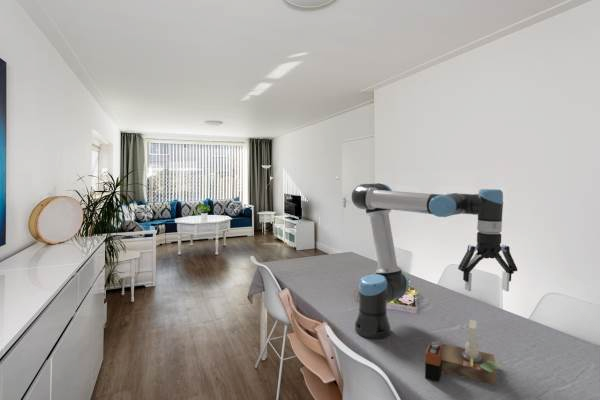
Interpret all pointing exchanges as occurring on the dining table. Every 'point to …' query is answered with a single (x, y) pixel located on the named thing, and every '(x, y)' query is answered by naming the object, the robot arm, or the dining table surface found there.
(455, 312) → the dining table surface
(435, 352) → the battery
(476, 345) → the peg knob
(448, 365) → the board
